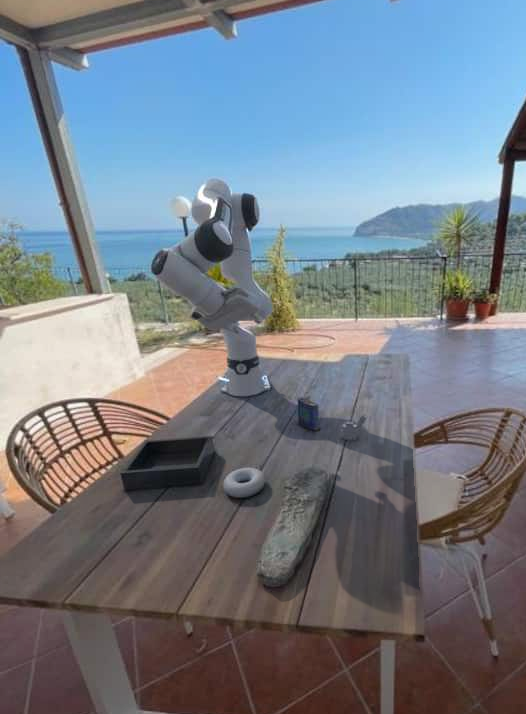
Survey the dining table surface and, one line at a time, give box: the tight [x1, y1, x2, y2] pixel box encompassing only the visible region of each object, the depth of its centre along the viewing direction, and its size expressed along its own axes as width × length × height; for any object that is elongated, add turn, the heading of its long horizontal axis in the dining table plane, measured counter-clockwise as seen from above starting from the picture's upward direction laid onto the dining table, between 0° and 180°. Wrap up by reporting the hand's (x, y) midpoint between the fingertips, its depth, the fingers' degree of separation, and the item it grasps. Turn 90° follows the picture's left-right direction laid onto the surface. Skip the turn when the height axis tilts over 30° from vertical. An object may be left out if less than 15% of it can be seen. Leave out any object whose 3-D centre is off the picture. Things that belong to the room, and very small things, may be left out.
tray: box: [119, 435, 216, 491], centre depth 102 cm, size 16×18×5 cm
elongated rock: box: [256, 465, 329, 588], centre depth 84 cm, size 35×5×10 cm
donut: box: [222, 467, 266, 499], centre depth 95 cm, size 10×3×10 cm
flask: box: [297, 395, 320, 432], centre depth 124 cm, size 9×3×11 cm, turn 47°
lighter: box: [342, 413, 367, 441], centre depth 118 cm, size 7×2×8 cm, turn 87°
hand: (250, 326), depth 115 cm, fingers open, 8 cm apart
